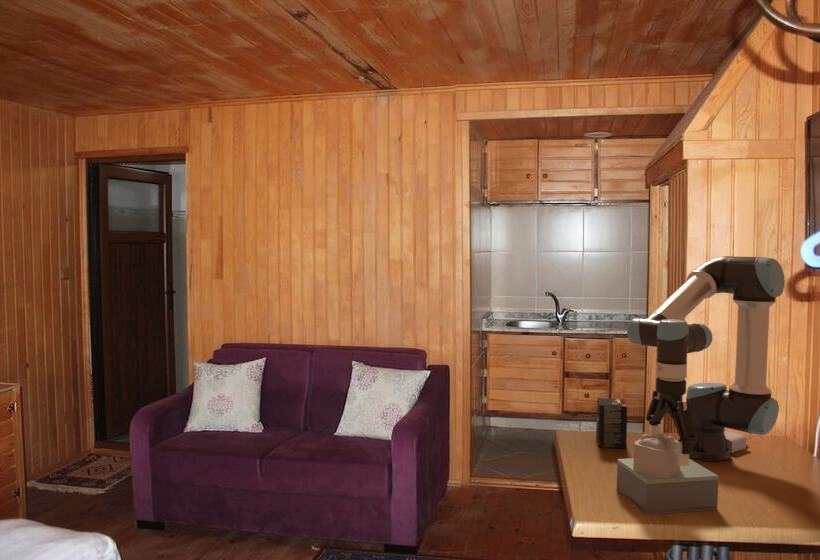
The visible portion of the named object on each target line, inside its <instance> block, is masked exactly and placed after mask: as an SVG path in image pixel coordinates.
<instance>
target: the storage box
mask: <svg viewBox="0 0 820 560" xmlns="http://www.w3.org/2000/svg"><path fill="white" fill-rule="evenodd" d="M616 466H617V469H616V492H617V491H618V493H619V494H620V495H621V496H622V497H623V496H624V497H623V498H625V499H626V500H627V501H628V502H629V503H631V504H632V505H633V506H635V507H636V508H637V509H638V510H639V511H641V512H642V513H643V514H644V515H646V516H648V515H661V514H673V513H674V514H675V513H687V512H688V513H691V512H705V511H704V510H706V511H717V510H718V502H719V501H718V498H719V497H718V495H719V479H718V480H704V481H688V482H672V483H656V484H646V483H645V482H643V481H642V480H641V479H639V478H638V477H637V476H635V475H634V474H632V473H631V472H630V471H628V470H627V469H625V468H624V467H623V466H621V465H620V464H619V463H617V464H616Z"/></svg>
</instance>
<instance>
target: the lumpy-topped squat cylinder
mask: <svg viewBox="0 0 820 560" xmlns="http://www.w3.org/2000/svg"><path fill="white" fill-rule="evenodd" d="M633 458H634V461H633V470H634V471H636V472H638V473H642V474H646V475H649V476H652V477H655V478H670V477H673V476H675V475H677V474H679V473H680V466H678V465H677V463H678V439H675V438H674V437H673V436H671V435H669V436H667V435H664V434H662V433H661V434H658V435H656V436H654V437H652V436H650V434H647V433H644V434H642V435H641V437H640V438H639V439H637V440H636V441H634V442H633Z"/></svg>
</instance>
